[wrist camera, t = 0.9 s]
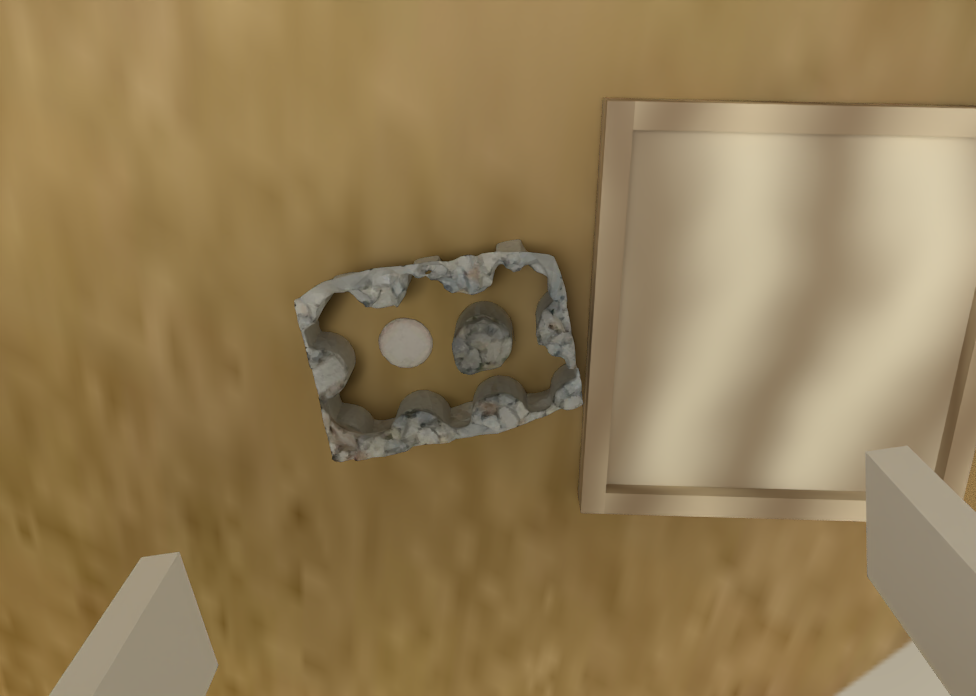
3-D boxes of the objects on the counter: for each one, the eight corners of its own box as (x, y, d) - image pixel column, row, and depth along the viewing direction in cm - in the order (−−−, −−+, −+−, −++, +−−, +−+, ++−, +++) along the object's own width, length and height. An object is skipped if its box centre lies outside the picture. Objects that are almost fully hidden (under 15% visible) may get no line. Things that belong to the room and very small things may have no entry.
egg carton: (340, 426, 37) (319, 471, 33) (302, 262, 35) (276, 289, 31) (581, 397, 36) (589, 439, 33) (561, 226, 34) (567, 249, 30)
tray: (577, 494, 38) (580, 513, 36) (602, 98, 32) (607, 100, 30) (939, 505, 37) (957, 524, 36) (1030, 106, 32) (1056, 110, 30)
